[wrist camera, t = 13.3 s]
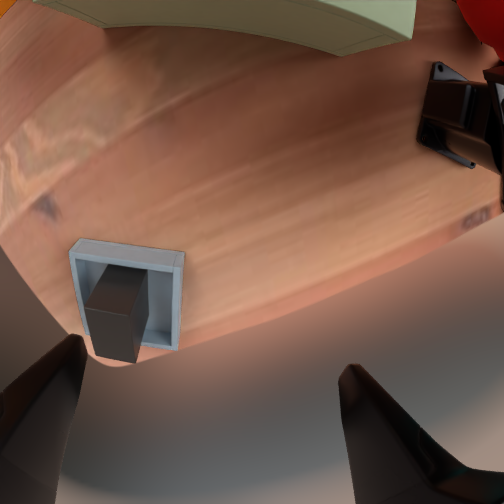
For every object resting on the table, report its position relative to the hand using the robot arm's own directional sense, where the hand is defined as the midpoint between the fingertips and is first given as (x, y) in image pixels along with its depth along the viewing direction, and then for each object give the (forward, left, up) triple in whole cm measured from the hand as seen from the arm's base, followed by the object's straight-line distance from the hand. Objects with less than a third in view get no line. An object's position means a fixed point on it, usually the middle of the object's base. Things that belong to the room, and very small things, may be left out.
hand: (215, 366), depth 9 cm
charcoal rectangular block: (+6, +6, -11) cm, 14 cm away
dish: (+6, +7, -11) cm, 15 cm away
